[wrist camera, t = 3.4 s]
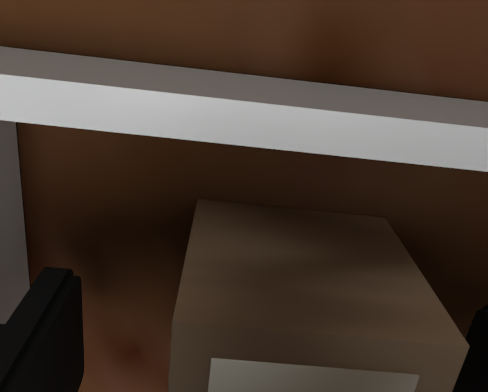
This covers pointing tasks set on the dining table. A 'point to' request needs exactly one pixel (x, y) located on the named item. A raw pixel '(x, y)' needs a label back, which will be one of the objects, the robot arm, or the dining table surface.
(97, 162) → the dining table surface
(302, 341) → the walnut box
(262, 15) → the dining table surface
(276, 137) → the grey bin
